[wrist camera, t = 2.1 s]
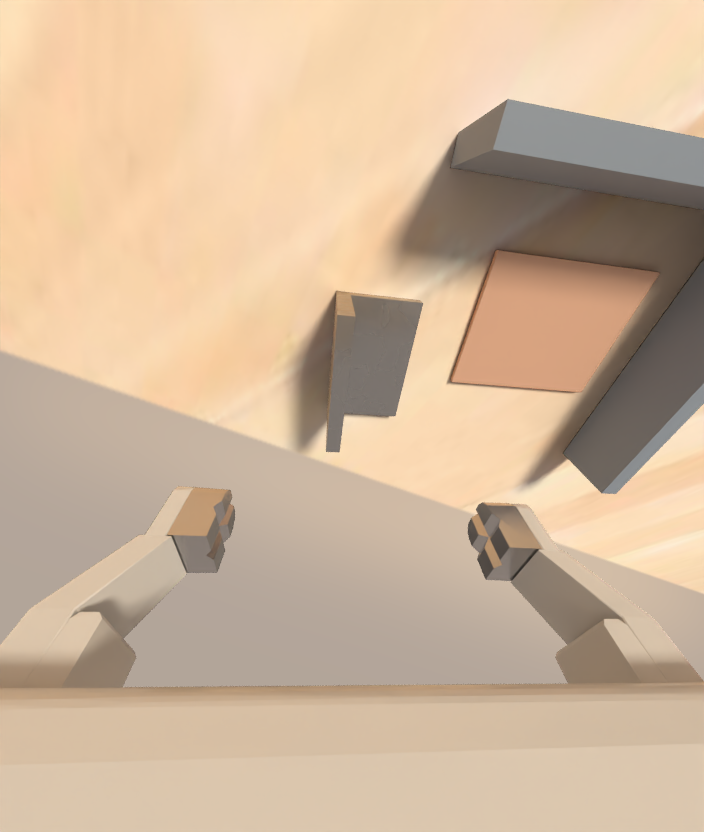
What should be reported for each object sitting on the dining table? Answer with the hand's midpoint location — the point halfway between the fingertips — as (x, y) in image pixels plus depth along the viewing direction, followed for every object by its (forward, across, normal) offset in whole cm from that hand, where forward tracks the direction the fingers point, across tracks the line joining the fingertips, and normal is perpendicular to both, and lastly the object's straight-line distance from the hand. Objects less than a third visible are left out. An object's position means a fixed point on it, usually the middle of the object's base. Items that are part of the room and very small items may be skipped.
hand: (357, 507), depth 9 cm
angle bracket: (+12, -1, 0) cm, 12 cm away
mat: (+12, -12, -3) cm, 17 cm away
